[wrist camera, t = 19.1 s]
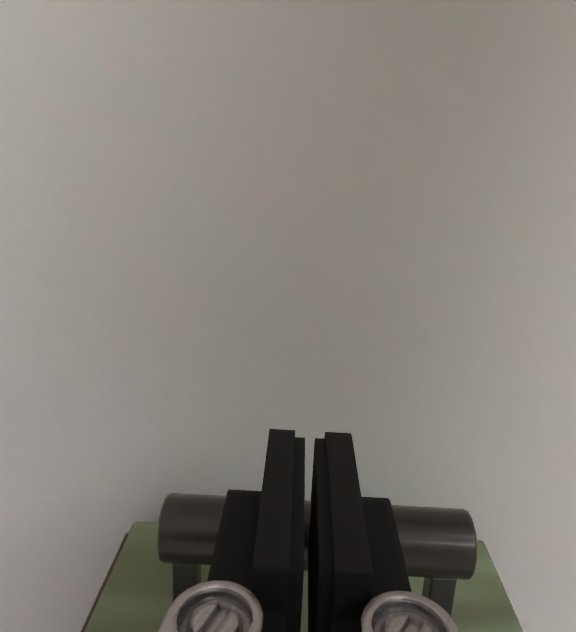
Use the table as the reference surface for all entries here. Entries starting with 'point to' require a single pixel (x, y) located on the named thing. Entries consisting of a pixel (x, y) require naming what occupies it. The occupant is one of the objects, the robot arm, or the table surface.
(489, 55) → the table surface
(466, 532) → the drawer
